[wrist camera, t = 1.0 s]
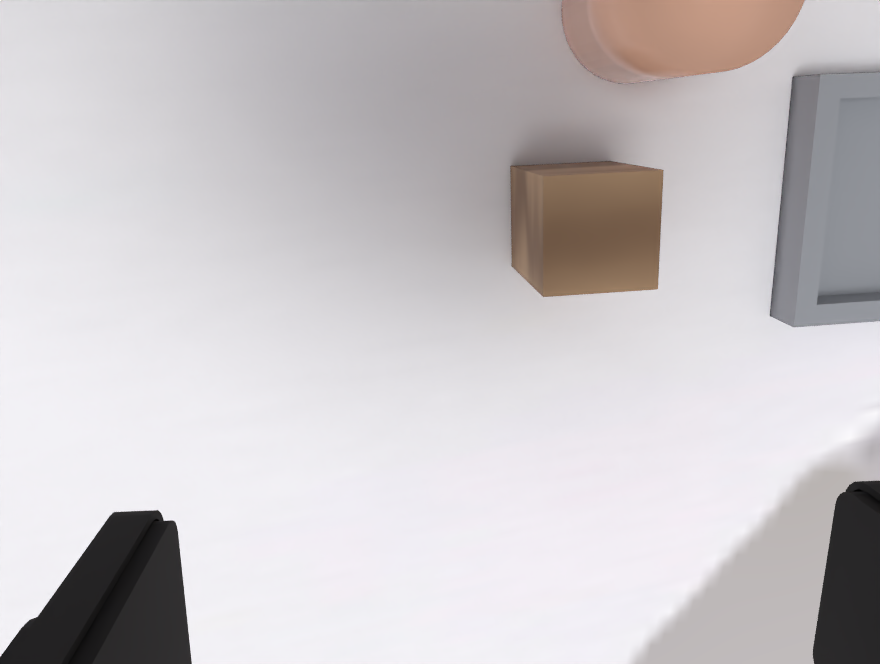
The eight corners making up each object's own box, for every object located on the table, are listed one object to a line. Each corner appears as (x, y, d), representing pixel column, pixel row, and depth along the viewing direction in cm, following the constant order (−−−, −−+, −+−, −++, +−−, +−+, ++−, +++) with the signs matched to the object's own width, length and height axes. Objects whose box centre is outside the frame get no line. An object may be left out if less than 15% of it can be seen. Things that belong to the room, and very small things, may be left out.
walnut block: (510, 165, 32) (543, 176, 26) (609, 160, 32) (663, 169, 26) (511, 266, 33) (543, 297, 27) (606, 260, 33) (657, 289, 28)
